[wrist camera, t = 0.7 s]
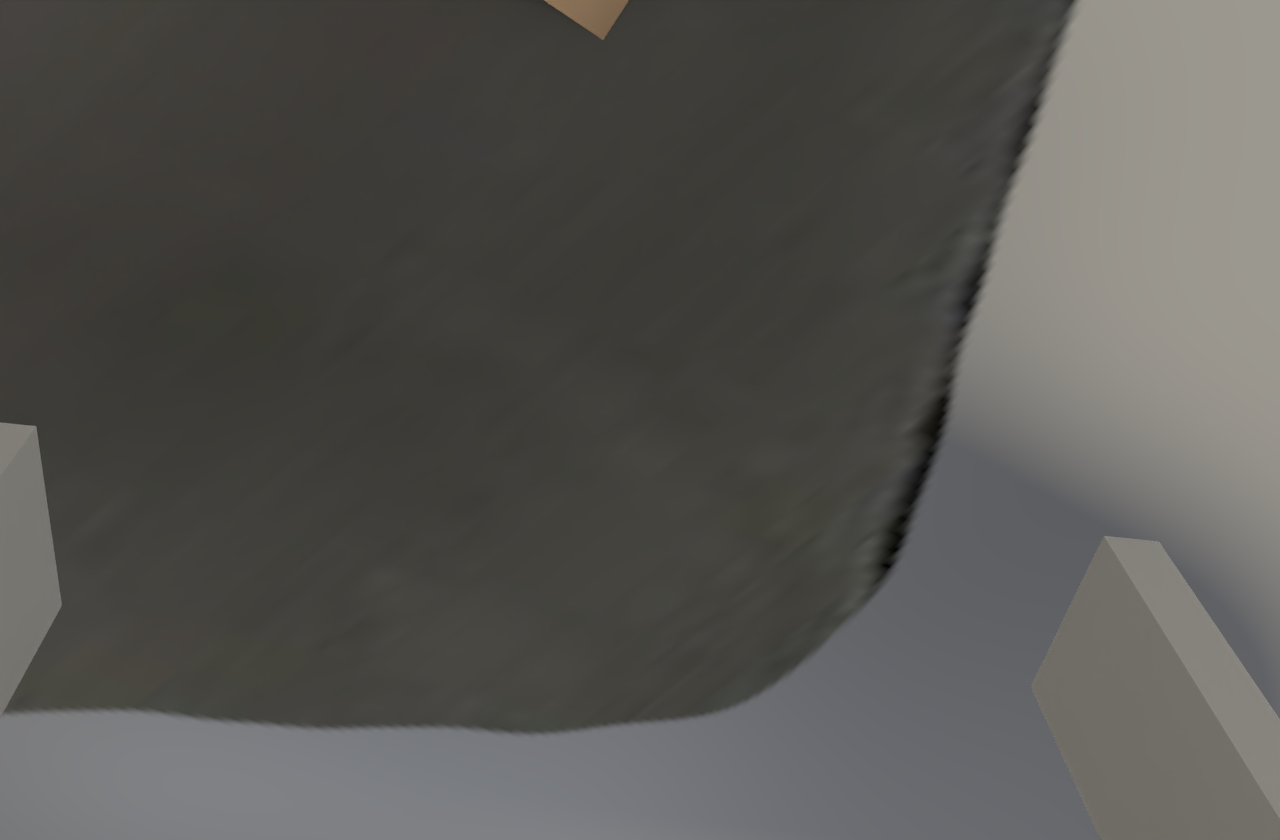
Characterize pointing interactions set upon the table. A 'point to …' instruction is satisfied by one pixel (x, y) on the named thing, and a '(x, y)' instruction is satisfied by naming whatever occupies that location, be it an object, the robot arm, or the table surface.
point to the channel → (591, 13)
